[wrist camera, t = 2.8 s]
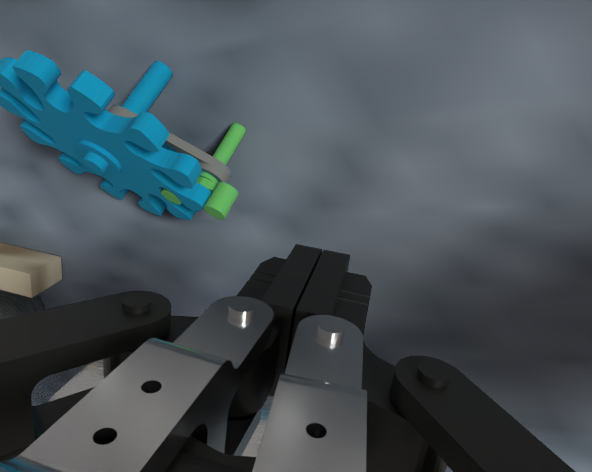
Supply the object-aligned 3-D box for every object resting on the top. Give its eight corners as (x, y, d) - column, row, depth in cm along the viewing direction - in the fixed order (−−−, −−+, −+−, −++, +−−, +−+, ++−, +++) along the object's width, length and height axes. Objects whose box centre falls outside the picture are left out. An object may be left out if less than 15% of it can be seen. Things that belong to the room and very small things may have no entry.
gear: (18, 157, 25) (-68, 30, 16) (83, 75, 27) (41, -80, 18) (207, 258, 26) (230, 194, 17) (256, 172, 28) (301, 73, 19)
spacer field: (423, -170, 18) (424, -297, 12) (318, 408, 28) (287, 512, 22) (-55, -197, 22) (-254, -304, 15) (4, 322, 32) (-102, 389, 25)
